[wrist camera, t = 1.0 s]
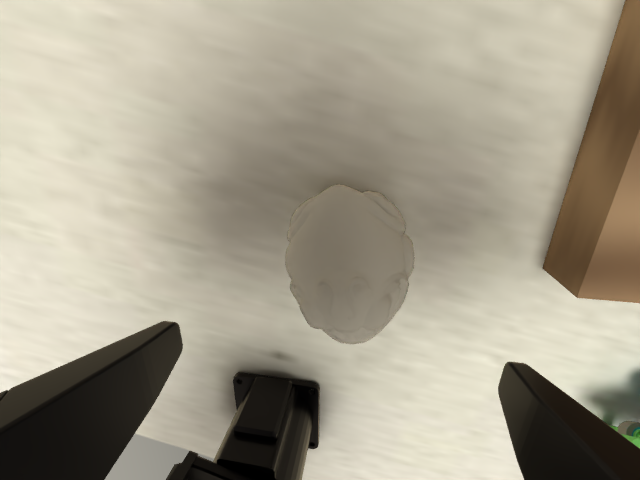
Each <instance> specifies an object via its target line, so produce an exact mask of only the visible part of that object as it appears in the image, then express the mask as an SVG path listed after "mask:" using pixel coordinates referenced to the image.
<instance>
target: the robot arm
mask: <svg viewBox="0 0 640 480" xmlns="http://www.w3.org/2000/svg"><path fill="white" fill-rule="evenodd" d="M182 348H183V343H182V338H181V333H180V327H179V325H178V323H176V322H169V321H163V322H160V323H158V324H156V325H153V326H151V327H149V328H147V329H144V330H142V331H140V332H138V333H135V334H133V335H131V336H128V337H126V338H124V339H122V340H119V341H117V342H115V343H113V344H110V345H108V346H106V347H104V348H101V349H99V350H97V351H94V352H92V353H90V354H88V355H85V356H83V357H81V358H79V359H76V360H74V361H72V362H70V363H67V364H65V365H63V366H60V367H58V368H56V369H54V370H51V371H49V372H47V373H45V374H42V375H40V376H38V377H36V378H33V379H31V380H29V381H26V382H24V383H22V384H20V385H17V386H15V387H13V388H11V389H10V390H9V391H8V390H6V391H4V392H1V393H0V480H104V479H105V478H106V476H107V475H108V473H109V472H110V470H111V468H112V467H113V465H114V464H115V462H116V461H117V459H118V458H119V456H120V455H121V453H122V452H123V450H124V449H125V447H126V446H127V444H128V443H129V441H130V440H131V438H132V437H133V435H134V434H135V432H136V430H137V429H138V427H139V426H140V424H141V423H142V421H143V420H144V418H145V417H146V415H147V414H148V412H149V411H150V409H151V407H152V406H153V404H154V403H155V401H156V399H157V397H158V396H159V394H160V392H161V390H162V388H163V386H164V385H165V383H166V381H167V379H168V377H169V375H170V373H171V371H172V370H173V368H174V366H175V364H176V362H177V360H178V358H179V356H180V354H181V352H182ZM233 384H234V392H235V400H236V408H237V412H236V414H235V416H234V418H233V420H232V422H231V425H230V427H229V429H228V431H227V433H226V435H225V437H224V440H223V442H222V444H221V446H220V448H219V450H218V452H217V454H216V457H215V459H214V461H213V462H212V461H209V460H207V459H205V458H202V457H200V456H198V454H197V453H195V452H192V451H189V453H188V454H187V456H186V457H185V459H184V461H183V462H182V463H179V464H175V465H174V467H173V468H172V470H171V472H170V473H169V475H168V477H167V479H166V480H302V475H303V470H304V465H305V460H306V455H307V450H308V448H310V449H315V448H317V447H318V443H319V399H320V388H319V386H318V384H316V383H313V382H306V381H299V380H292V379H285V378H277V377H270V376H263V375H256V374H248V373H237V374H236V375H235V377H234V379H233ZM311 389H312V390H311ZM498 393H499V398H500V401H501V405H502V409H503V412H504V416H505V419H506V423H507V426H508V430H509V434H510V437H511V441H512V444H513V448H514V451H515V455H516V458H517V461H518V464H519V467H520V469H521V472H522V475H523V477H524V480H640V448H639V447H637V446H636V445H634V444H633V443H632V442H630V441H629V440H628V439H626V438H625V437H624V436H622V435H621V434H620V433H618V432H617V431H616V430H614V429H613V428H612V427H610V426H609V425H608V424H606V423H605V422H604V421H602V420H601V419H600V418H598V417H597V416H595V415H594V414H593V413H591V412H590V411H589V410H587V409H586V408H585V407H583V406H582V405H581V404H579V403H578V402H577V401H575V400H574V399H573V398H571V397H570V396H569V395H567V394H566V393H565V392H563V391H562V390H560V389H559V388H558V387H556V386H555V385H554V384H552V383H551V382H550V381H548V380H547V379H546V378H544V377H543V376H542V375H540V374H539V373H538V372H536V371H535V370H534V369H532V368H531V367H530V366H528V365H527V364H524V363H518V362H507V363H506V364H505V366H504V369H503V372H502V376H501V379H500V383H499V386H498Z"/></svg>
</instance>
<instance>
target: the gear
mask: <svg viewBox="0 0 640 480" xmlns="http://www.w3.org/2000/svg"><path fill="white" fill-rule="evenodd" d="M609 426H610V425H609ZM610 427H612V428H613V429H614V430H616V431H617V432H618V433H620V434H621V435H622V436H624V437H625V438H626V439H628V440H629V441H630V442H632V443H633V444H634V445H636V446H637V447H639V448H640V423H638V422H632V421H625V422H623V423H621V424H620V425H619V427H615V426H610Z"/></svg>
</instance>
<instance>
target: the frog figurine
mask: <svg viewBox="0 0 640 480" xmlns="http://www.w3.org/2000/svg"><path fill="white" fill-rule="evenodd" d="M404 231H405V223H404V220H403V218H402V216H401V214H400V212H399V211H398V209H397V208H396V207H395V205H394V204H393V203H391V202H390V201H388V200H387V199H386V198H385V197H384V196H383V194H381V193H378V192H373V191H365V192H363V193H361V192H359V191H357V190H355V189H352V188H350V187H347V186H345V185H339V184H336V185H333V186H331V187H329V188H328V189H326V190H324V191H323V192H321V193H319V194H318V195H317V196H316V197H312V198H309V199H308V200H306V201H305V202H304V203H303V204H302V205H300V206H299V207H298V208H297V209H296V211H295V212H294V214H293V215H292V218H291V222H290V227H289V230H288V234H287V238H288V240H289V241H290V244H289V246H288V248H287V250H286V257H285V263H286V268H287V272H288V274H289V276H290V278H291V279H292V281H291V284H290V289H291V292H292V293H293V295H294V297H295V298H296V300H297V302H298V304H299V305H300V309H301V311H302V314H303V315H304V317H305V319H306V321H307V323H308V324H309V325H310V326H311V327H313V328H316V329H322V330H323V331H324V332H325V333H327V334H328V335H329V336H330V337H332V338H333V339H335V340H336V341H338V342H340V343H347V344H357V343H363V342H366V341H368V340H370V339H371V338H373V337H374V336H375V335H376V334H378V333H379V332H380V331H381V330H382V329H383V328H384V327H385V326H386V325H387V324H388V323H389V321H390V320H391V319H392V318H393V317H394V315H395V314H396V312H397V311H398V310H399V308H400V307H401V305H402V303H403V302H404V299H405V296H406V293H407V290H408V286H409V283H408V278H409V276H410V275H411V273H412V270H413V267H414V249H413V243H412V241H411V239H410V238H409V236H407V235H405V234H404Z"/></svg>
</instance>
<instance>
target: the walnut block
mask: <svg viewBox="0 0 640 480" xmlns="http://www.w3.org/2000/svg"><path fill="white" fill-rule="evenodd" d="M543 269H544V270H545V271H546V272H547V273H549V274H550V275H551V276H552V277H553V278H555V279H556V280H557V281H558V282H559V283H560V284H562V285H563V286H564V287H565V288H566V289H567V290H569V291H570V292H571V293H572V294H573V295H574V296H576V297H577V298H587V299H599V300H610V301H622V302H634V303H640V0H626V1H625V4H624V7H623V10H622V14H621V17H620V20H619V23H618V26H617V30H616V33H615V36H614V39H613V43H612V46H611V49H610V52H609V55H608V59H607V62H606V65H605V68H604V72H603V75H602V78H601V81H600V84H599V88H598V91H597V94H596V97H595V101H594V104H593V107H592V110H591V113H590V117H589V120H588V123H587V126H586V130H585V133H584V136H583V139H582V142H581V146H580V149H579V152H578V155H577V159H576V162H575V165H574V168H573V171H572V175H571V178H570V181H569V184H568V188H567V191H566V194H565V197H564V200H563V204H562V207H561V210H560V213H559V217H558V220H557V223H556V226H555V229H554V233H553V236H552V239H551V242H550V246H549V249H548V252H547V255H546V258H545V262H544V265H543Z"/></svg>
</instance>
